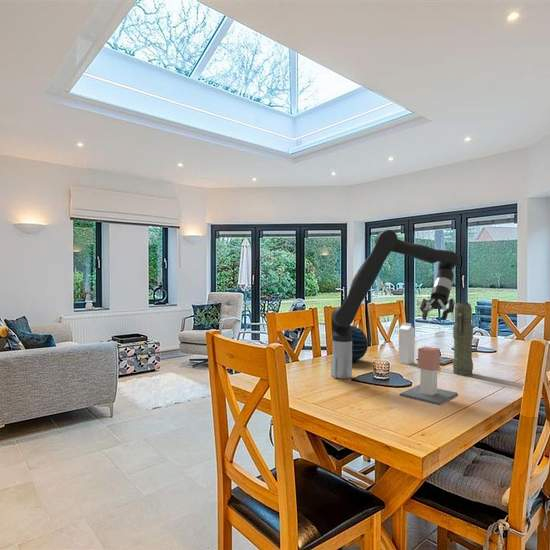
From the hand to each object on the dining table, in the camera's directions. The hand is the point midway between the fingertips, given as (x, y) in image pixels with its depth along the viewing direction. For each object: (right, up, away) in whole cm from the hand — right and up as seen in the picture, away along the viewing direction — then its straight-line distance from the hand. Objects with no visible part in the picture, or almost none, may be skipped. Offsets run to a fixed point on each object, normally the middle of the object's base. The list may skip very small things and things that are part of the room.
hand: (433, 319), depth 172 cm
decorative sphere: (-28, -29, +47) cm, 62 cm away
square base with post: (-7, -29, -13) cm, 33 cm away
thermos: (+23, -29, +22) cm, 43 cm away
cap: (-7, -18, -13) cm, 24 cm away
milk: (+3, -29, +45) cm, 53 cm away
